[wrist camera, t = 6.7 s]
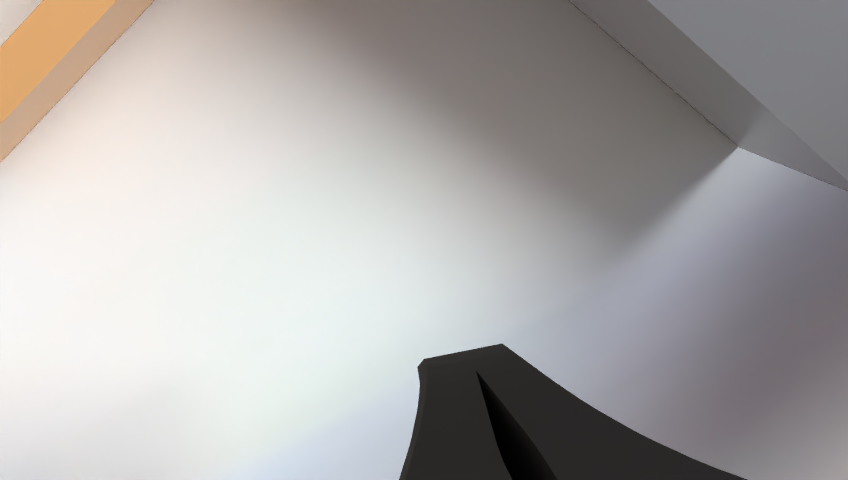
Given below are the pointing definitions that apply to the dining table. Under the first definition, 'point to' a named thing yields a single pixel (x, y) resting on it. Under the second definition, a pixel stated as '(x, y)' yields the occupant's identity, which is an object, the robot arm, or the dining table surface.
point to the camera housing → (749, 70)
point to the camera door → (54, 57)
